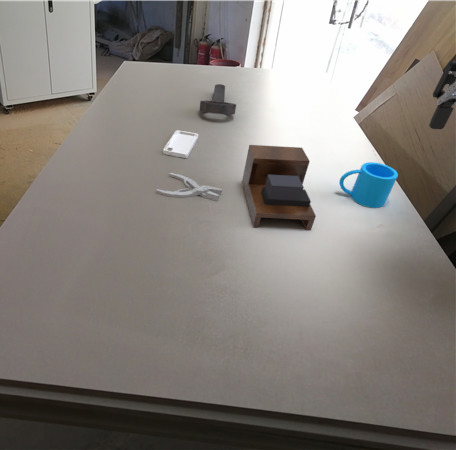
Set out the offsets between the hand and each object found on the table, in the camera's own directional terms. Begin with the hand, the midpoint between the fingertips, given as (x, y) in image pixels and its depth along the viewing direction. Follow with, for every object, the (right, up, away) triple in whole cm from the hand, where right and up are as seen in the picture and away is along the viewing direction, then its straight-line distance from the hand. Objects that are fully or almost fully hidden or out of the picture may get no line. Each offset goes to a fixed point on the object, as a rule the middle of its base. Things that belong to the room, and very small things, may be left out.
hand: (449, 139), depth 65 cm
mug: (+5, -7, +38) cm, 39 cm away
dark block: (-18, -8, +28) cm, 34 cm away
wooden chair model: (-19, -9, +33) cm, 39 cm away
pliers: (-38, -5, +37) cm, 54 cm away
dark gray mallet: (-25, +29, +83) cm, 91 cm away
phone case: (-40, +10, +57) cm, 70 cm away
